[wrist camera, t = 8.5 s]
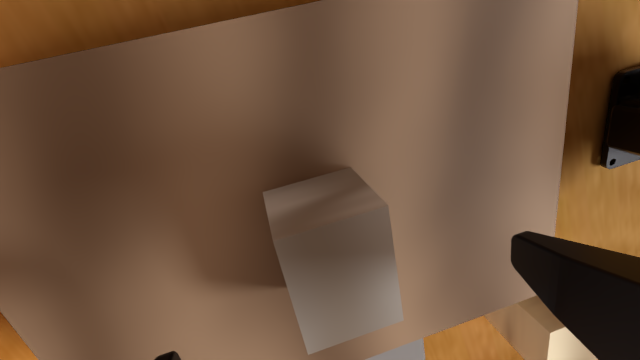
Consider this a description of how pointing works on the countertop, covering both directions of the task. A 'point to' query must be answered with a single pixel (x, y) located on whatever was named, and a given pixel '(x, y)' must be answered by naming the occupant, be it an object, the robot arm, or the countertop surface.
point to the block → (537, 332)
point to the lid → (282, 180)
